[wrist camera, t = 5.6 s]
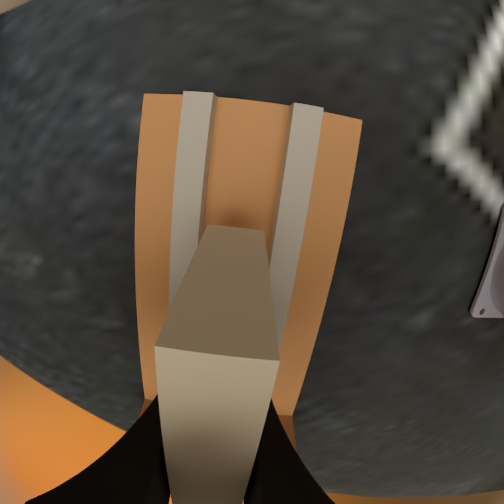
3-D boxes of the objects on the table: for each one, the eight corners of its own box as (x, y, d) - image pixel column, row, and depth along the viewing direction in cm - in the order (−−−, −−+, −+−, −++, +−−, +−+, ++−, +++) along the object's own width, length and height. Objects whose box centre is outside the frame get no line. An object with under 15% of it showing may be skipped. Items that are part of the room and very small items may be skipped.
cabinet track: (355, 120, 14) (427, 116, 8) (286, 419, 21) (294, 499, 15) (150, 95, 14) (80, 75, 7) (150, 403, 21) (126, 480, 14)
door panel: (264, 230, 11) (279, 360, 5) (235, 418, 15) (230, 539, 8) (207, 223, 11) (154, 345, 5) (196, 413, 15) (178, 533, 8)
